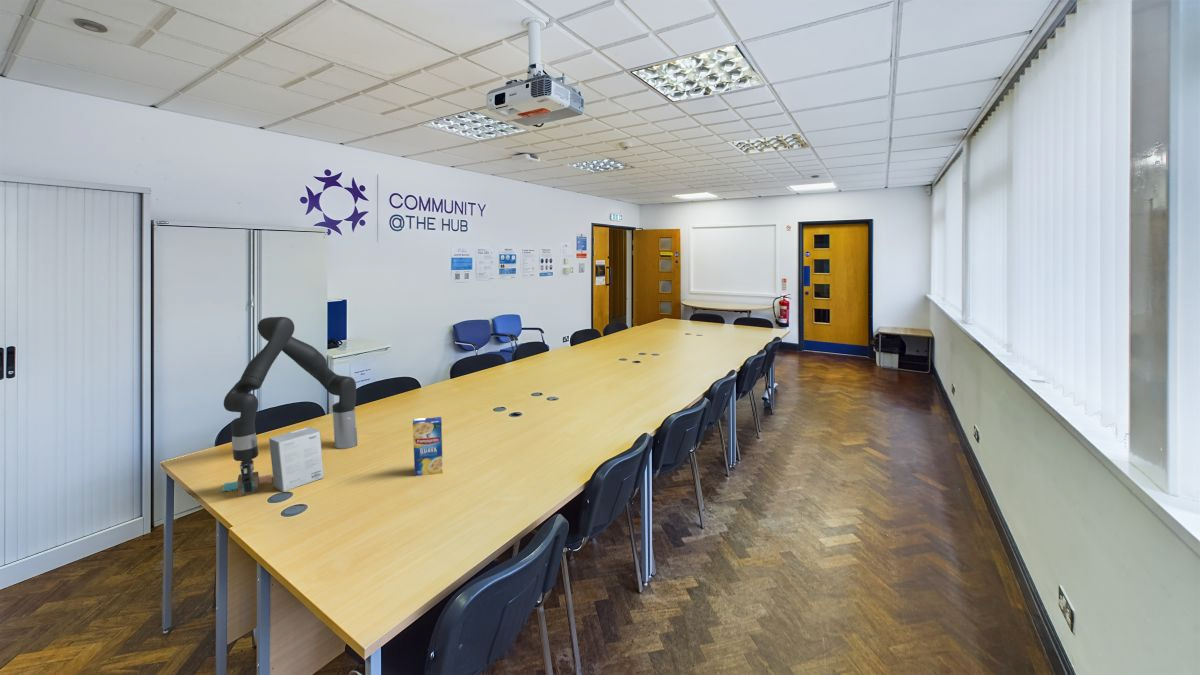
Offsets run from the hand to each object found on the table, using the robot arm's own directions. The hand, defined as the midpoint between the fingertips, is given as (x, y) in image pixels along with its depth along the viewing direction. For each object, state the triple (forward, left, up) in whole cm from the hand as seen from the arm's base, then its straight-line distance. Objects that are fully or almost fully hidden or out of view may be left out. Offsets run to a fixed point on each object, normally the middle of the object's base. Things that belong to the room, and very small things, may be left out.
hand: (249, 488), depth 184 cm
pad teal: (+5, -7, -1) cm, 9 cm away
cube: (0, 0, -1) cm, 1 cm away
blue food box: (-62, +14, -1) cm, 64 cm away
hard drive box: (-16, 0, -1) cm, 16 cm away
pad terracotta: (-3, -8, -1) cm, 9 cm away
